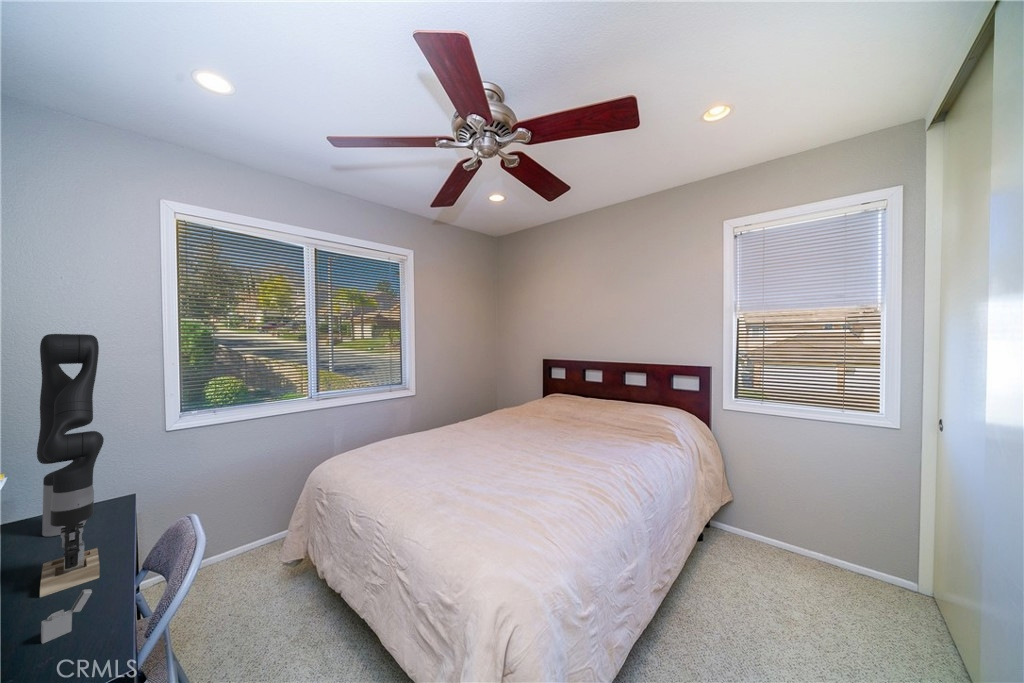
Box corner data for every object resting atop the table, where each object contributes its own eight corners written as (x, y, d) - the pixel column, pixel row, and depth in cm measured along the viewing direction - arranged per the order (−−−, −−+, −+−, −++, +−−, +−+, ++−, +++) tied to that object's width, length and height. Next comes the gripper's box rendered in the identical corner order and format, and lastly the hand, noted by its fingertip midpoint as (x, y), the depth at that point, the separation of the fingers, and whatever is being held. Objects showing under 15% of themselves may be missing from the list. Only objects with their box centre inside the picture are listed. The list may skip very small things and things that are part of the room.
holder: (42, 573, 99) (43, 563, 99) (97, 557, 107) (97, 547, 107) (39, 597, 90) (40, 586, 90) (99, 577, 98) (99, 567, 98)
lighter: (41, 644, 77) (42, 608, 77) (40, 640, 78) (41, 605, 78) (91, 622, 83) (92, 589, 83) (89, 619, 84) (90, 586, 84)
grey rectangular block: (63, 577, 98) (64, 545, 98) (83, 571, 101) (84, 540, 101) (63, 583, 96) (64, 550, 96) (83, 576, 98) (84, 545, 98)
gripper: (94, 507, 96) (93, 565, 96) (92, 491, 105) (91, 545, 105) (49, 517, 90) (48, 579, 90) (51, 500, 99) (50, 556, 99)
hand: (71, 560), depth 98 cm, fingers open, 8 cm apart
